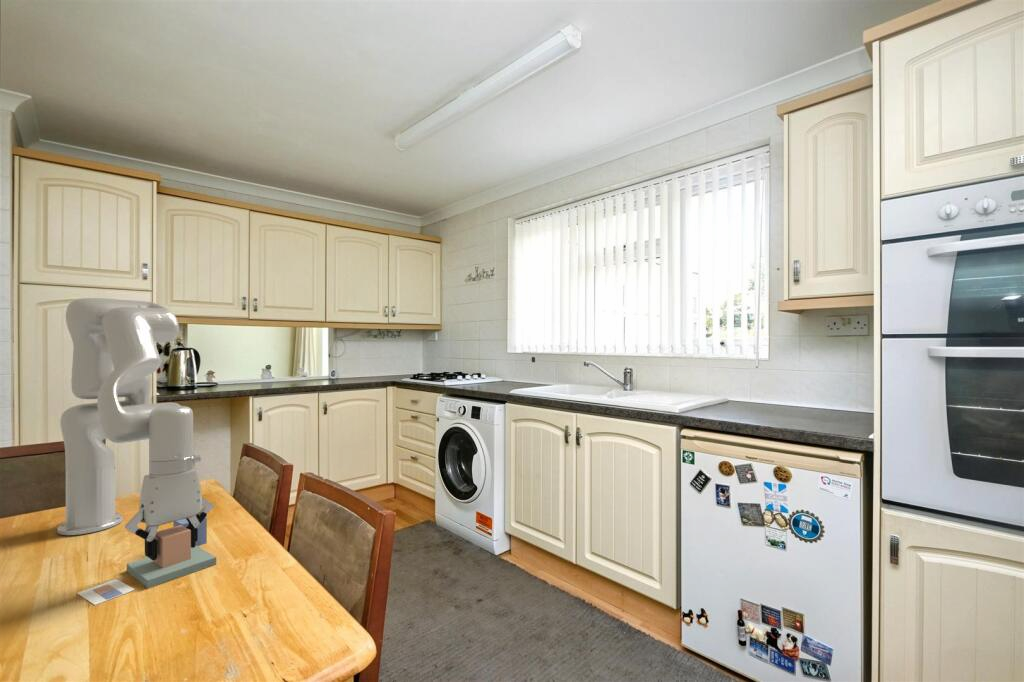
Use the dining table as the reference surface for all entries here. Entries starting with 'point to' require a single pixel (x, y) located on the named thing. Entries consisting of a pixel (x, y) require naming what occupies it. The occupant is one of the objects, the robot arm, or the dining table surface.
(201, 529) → the brick
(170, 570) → the baseplate
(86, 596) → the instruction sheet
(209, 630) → the dining table surface
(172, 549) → the brick
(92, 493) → the robot arm
